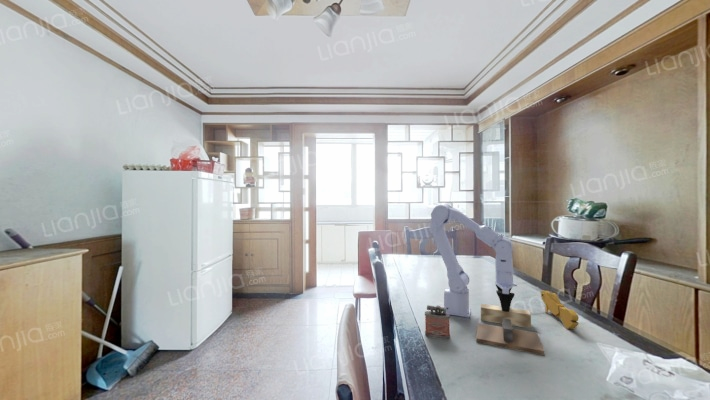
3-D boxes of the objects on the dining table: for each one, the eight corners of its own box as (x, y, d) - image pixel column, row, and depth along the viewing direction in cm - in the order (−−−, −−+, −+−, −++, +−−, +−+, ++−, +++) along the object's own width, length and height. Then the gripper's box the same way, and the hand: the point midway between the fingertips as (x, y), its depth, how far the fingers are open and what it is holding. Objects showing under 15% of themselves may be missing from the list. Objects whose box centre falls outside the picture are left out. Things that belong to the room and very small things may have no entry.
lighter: (450, 335, 92) (449, 305, 92) (450, 340, 89) (449, 309, 89) (425, 331, 95) (425, 303, 95) (424, 336, 91) (424, 306, 91)
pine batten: (481, 320, 103) (480, 307, 103) (481, 316, 107) (481, 303, 107) (531, 328, 96) (530, 314, 96) (529, 324, 100) (529, 310, 100)
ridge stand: (476, 342, 87) (476, 326, 87) (477, 326, 98) (477, 312, 98) (544, 355, 79) (543, 338, 79) (537, 336, 90) (537, 321, 90)
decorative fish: (538, 303, 115) (540, 282, 112) (546, 304, 114) (549, 282, 112) (567, 341, 94) (570, 316, 91) (577, 342, 93) (581, 317, 91)
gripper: (518, 276, 93) (519, 316, 93) (514, 267, 106) (515, 302, 106) (495, 274, 96) (496, 313, 96) (494, 265, 109) (495, 299, 109)
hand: (504, 307), depth 101 cm, fingers open, 7 cm apart
